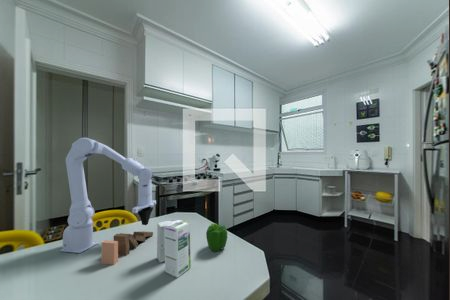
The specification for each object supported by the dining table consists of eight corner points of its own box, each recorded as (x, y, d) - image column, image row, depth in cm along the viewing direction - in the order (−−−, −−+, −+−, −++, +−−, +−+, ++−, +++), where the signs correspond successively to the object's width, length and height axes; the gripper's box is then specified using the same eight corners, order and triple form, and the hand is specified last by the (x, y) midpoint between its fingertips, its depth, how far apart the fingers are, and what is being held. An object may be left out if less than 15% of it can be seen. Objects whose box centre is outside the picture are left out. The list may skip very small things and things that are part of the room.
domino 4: (152, 235, 80) (143, 236, 74) (142, 235, 81) (132, 235, 75) (153, 232, 81) (144, 232, 75) (143, 231, 82) (133, 231, 76)
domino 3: (136, 248, 70) (128, 238, 66) (125, 247, 71) (117, 237, 67) (138, 244, 71) (131, 234, 67) (127, 243, 72) (119, 233, 68)
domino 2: (126, 255, 64) (125, 236, 64) (114, 254, 65) (113, 235, 65) (129, 252, 66) (128, 234, 66) (117, 251, 67) (116, 233, 67)
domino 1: (114, 264, 59) (114, 243, 59) (101, 263, 60) (101, 242, 60) (117, 261, 61) (118, 241, 61) (105, 260, 61) (105, 240, 62)
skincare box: (159, 263, 59) (159, 226, 60) (156, 257, 63) (156, 222, 63) (177, 257, 63) (177, 222, 63) (173, 251, 66) (173, 219, 67)
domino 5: (144, 241, 75) (135, 239, 69) (134, 240, 76) (124, 238, 70) (146, 237, 76) (136, 234, 70) (135, 236, 77) (125, 234, 71)
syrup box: (177, 278, 52) (177, 228, 52) (164, 271, 55) (164, 224, 55) (191, 267, 56) (190, 222, 57) (178, 262, 60) (177, 218, 60)
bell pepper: (221, 241, 74) (221, 217, 75) (231, 250, 67) (230, 223, 67) (202, 245, 70) (202, 220, 71) (210, 256, 63) (210, 227, 63)
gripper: (142, 198, 73) (142, 231, 72) (161, 191, 87) (161, 219, 86) (127, 197, 74) (127, 230, 73) (148, 191, 88) (148, 218, 88)
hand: (145, 224), depth 80 cm, fingers closed
